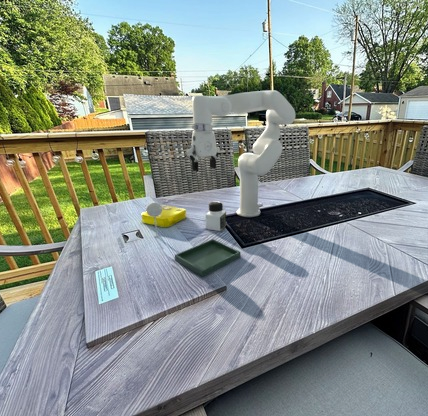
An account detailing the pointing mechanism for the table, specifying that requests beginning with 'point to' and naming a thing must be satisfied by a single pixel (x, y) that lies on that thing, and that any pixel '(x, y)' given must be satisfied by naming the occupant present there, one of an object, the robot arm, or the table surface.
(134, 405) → the table surface
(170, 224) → the yellow flat block
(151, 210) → the lollipop
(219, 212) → the medicine bottle
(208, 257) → the tray
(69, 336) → the table surface
